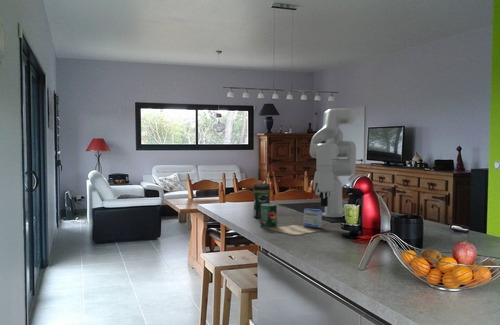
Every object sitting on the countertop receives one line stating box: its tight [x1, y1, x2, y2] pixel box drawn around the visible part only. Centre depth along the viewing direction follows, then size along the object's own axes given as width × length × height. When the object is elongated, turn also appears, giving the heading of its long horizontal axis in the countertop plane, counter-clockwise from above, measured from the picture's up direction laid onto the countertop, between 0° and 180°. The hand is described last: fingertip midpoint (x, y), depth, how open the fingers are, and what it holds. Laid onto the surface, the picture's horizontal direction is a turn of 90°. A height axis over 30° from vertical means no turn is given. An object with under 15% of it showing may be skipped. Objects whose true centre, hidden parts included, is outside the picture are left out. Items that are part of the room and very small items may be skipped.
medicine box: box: [302, 208, 323, 229], centre depth 219 cm, size 8×4×9 cm, turn 63°
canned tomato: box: [260, 202, 278, 229], centre depth 223 cm, size 8×8×11 cm
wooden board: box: [269, 224, 321, 237], centre depth 213 cm, size 16×18×1 cm
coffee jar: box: [252, 182, 271, 219], centre depth 251 cm, size 10×8×19 cm
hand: (324, 206), depth 223 cm, fingers closed
